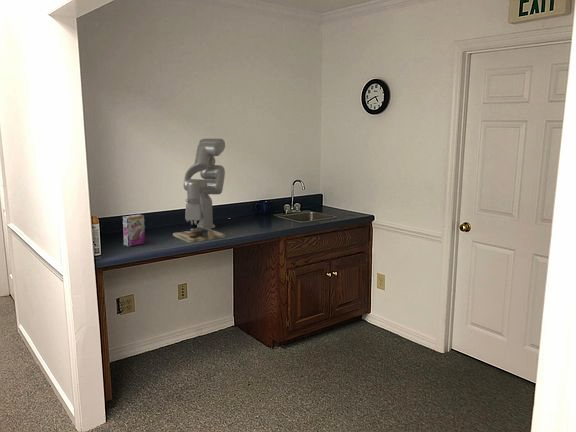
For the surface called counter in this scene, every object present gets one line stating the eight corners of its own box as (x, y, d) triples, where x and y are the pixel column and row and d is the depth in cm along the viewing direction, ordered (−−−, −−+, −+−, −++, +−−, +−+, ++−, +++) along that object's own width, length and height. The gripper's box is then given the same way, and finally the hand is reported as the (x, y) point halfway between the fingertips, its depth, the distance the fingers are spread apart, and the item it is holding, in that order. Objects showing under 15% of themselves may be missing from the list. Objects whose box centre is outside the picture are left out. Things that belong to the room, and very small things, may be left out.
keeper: (202, 238, 287) (202, 230, 286) (195, 235, 294) (195, 227, 293) (207, 237, 289) (207, 229, 289) (201, 234, 296) (200, 227, 295)
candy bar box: (128, 247, 272) (127, 217, 269) (123, 245, 275) (121, 216, 272) (146, 243, 280) (144, 215, 277) (140, 242, 283) (139, 214, 280)
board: (189, 242, 282) (189, 240, 282) (172, 235, 300) (172, 233, 300) (226, 237, 297) (226, 234, 296) (208, 230, 314) (208, 228, 314)
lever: (195, 237, 286) (195, 229, 286) (188, 237, 287) (188, 229, 286) (205, 231, 304) (204, 223, 303) (198, 231, 304) (197, 223, 303)
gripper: (179, 201, 297) (180, 231, 300) (203, 202, 294) (204, 232, 298) (184, 200, 304) (185, 229, 308) (207, 200, 302) (208, 230, 305)
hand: (194, 230), depth 303 cm, fingers closed
